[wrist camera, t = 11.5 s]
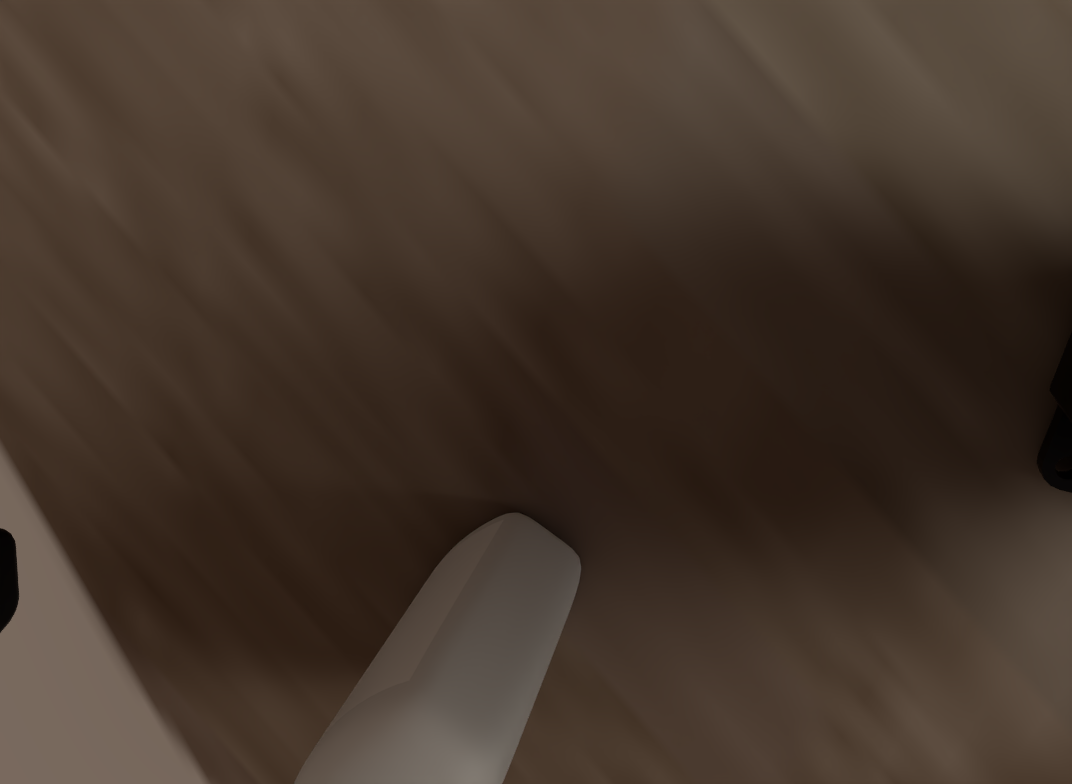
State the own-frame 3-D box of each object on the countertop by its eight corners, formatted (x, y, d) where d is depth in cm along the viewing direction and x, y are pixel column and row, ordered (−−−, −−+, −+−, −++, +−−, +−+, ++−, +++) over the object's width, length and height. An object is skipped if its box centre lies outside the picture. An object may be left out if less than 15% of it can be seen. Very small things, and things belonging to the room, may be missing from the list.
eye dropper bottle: (367, 558, 25) (34, 966, 14) (553, 490, 23) (334, 906, 12) (444, 692, 26) (189, 1175, 15) (630, 639, 24) (492, 1153, 13)
